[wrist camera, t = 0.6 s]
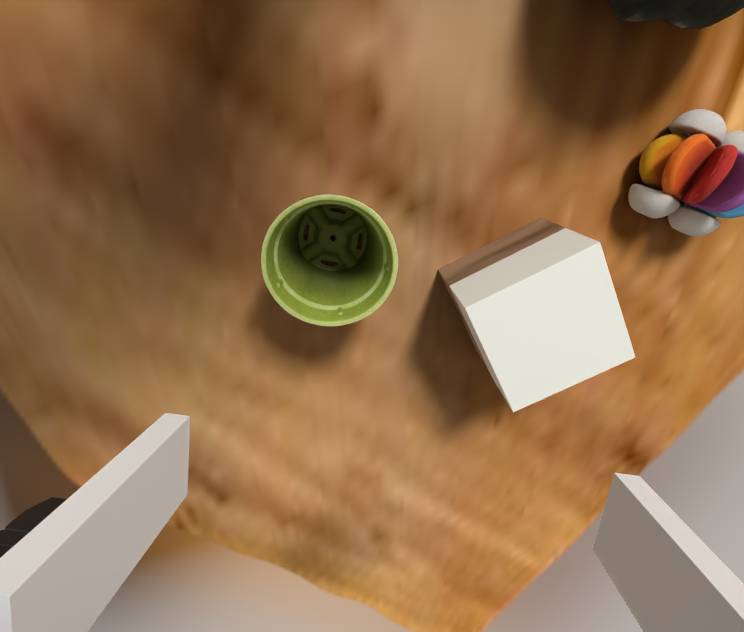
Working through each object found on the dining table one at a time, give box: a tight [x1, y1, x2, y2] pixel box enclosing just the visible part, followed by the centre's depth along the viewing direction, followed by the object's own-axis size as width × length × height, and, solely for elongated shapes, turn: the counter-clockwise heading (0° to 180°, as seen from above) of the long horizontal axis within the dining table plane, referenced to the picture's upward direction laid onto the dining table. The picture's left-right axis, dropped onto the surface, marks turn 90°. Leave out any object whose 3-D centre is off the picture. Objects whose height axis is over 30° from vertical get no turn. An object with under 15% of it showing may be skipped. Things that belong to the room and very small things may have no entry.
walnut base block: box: [438, 218, 564, 375], centre depth 39 cm, size 10×10×5 cm
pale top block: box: [449, 228, 635, 412], centre depth 35 cm, size 10×10×5 cm
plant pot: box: [261, 195, 398, 326], centre depth 34 cm, size 9×9×9 cm
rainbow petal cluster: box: [628, 109, 744, 237], centre depth 35 cm, size 8×10×7 cm
